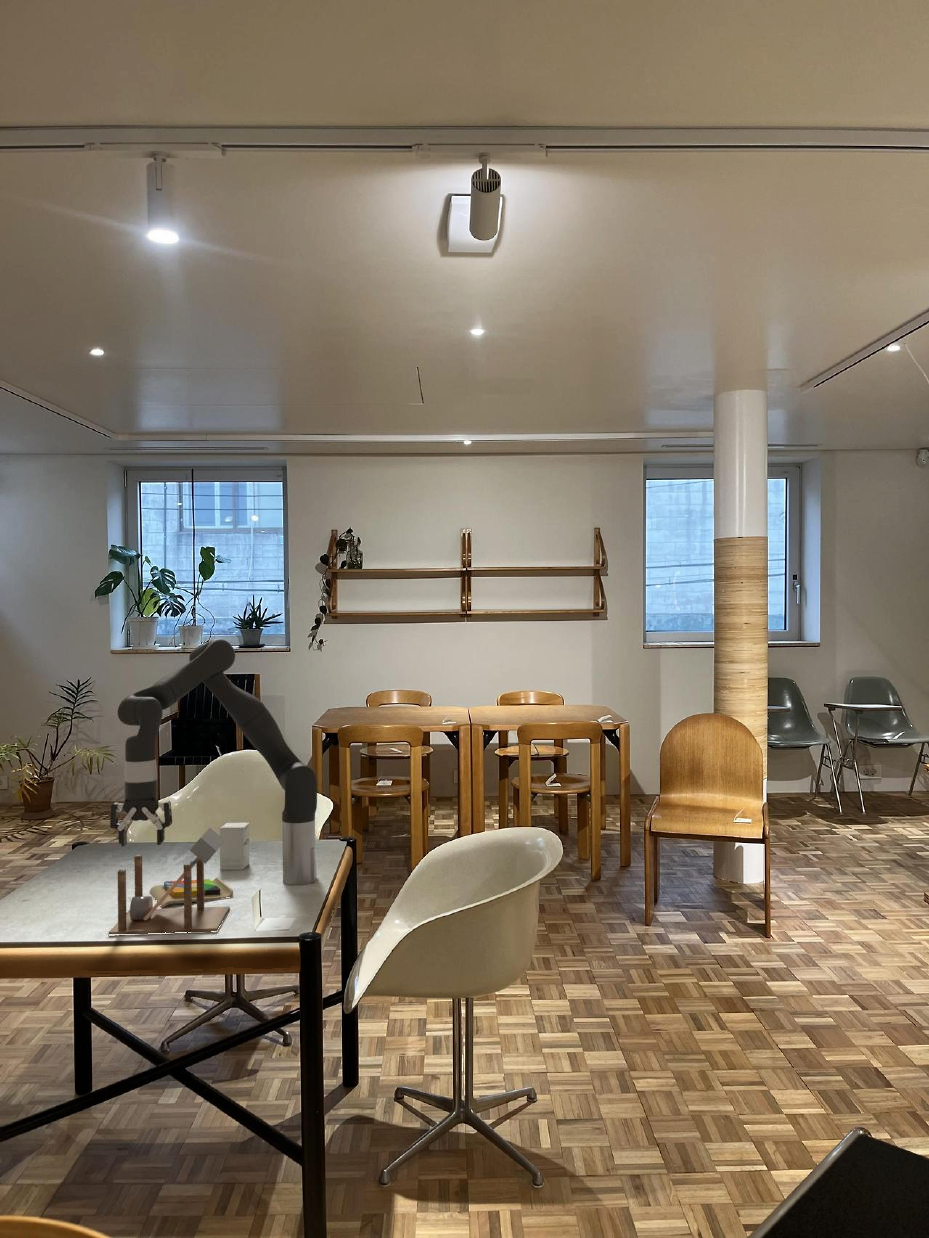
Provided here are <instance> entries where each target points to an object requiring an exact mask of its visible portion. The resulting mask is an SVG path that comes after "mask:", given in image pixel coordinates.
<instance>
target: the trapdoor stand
mask: <svg viewBox="0 0 929 1238" xmlns="http://www.w3.org/2000/svg"><path fill="white" fill-rule="evenodd" d="M133 857H134V860H133V861H134V897H141V896H144V895H143V894H144V893H143V891H144V889H143V854H135V856H133ZM195 865H196V866H195V867H196V880H197V902H196V907H193V902H192V880H193V879H192V877H193V876H192V869H191V863H190V862H187V863H186V862H185V863H184V864H183V872H184V878H183V881H184V903H183V907H177V908H176V907H175V908H174V907H173V908H157V909H156V910H155V911H154V912H153V913H152V916H151V919H150V920H146V921H145V920H139V921H132V920H131V918H130V909H129V910H128V911H127V869H119V870H117V922H116V924H115V925H113V927H112V928H111V929H110V930H109V931H108V935H109V934H148V933H165V932H166V933H175V932H187V933H188V932H211V931H217V930H218V928H219V926H220V925H221V924H223V923H222V921H223V920H224V921H225V919H226V918H225V916H226V915H228V914H229V913H228V912H230V911H231V907H230V906H229V905H227V906H206V907H205V901H204V879H205V866H204V865H205V863H204V862H203V861H202V860H199V861H198V862H197V863H196V864H195ZM229 910H230V911H229ZM227 913H228V914H227ZM226 917H227V916H226ZM224 918H225V919H224ZM224 921H223V922H224ZM221 926H222V925H221ZM221 926H220V927H221ZM219 929H220V928H219ZM218 931H219V930H218Z"/></svg>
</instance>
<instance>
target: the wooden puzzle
mask: <svg viewBox="0 0 929 1238" xmlns="http://www.w3.org/2000/svg"><path fill="white" fill-rule="evenodd" d="M175 882H176V880H168V881H167V880H166V881H164V882H163V884H162V885H161V884H159V885H158V884H157V885H154V886H153V887H151V888H150V890H149V895H150V894H151V895H152V896H153V897H154V898H155V899H154V898H153V897H152V896H151V895H150V896H151V897H152V898H153V899H154V901H155V900H157V902H158V901H159V900H160V899H161V898H162V896H163V895H164V894H165V893H166V892H167V891H168V890H169V888H170V887H171V886H172V885H173V884H174V883H175ZM233 896H234V890H233V889H232V888H231V887H230V886H229V885H228V884H226V883H225V882H224V881H222V880H221V879H220V878H219V877H215V878H214V879H213V880H211V878H204V902H209V901H208V900H213V901H218V900H217V899H220V900H222V899H221V898H226V897H231V898H232V897H233ZM226 899H227V898H226ZM157 902H156V903H157ZM192 903H197V879H192ZM171 904H173V905H174V904H184V880H181V881H180V883H179V884H178V885H177V886H176V887H175V888H174V889H173V891H172V892H171V893H170V894H169V895H168V896H167V897H166V898H165V900H164V901H163V902H162V903H161V904H160V905H161V906H162V907H165V908H166V907H168V905H171ZM160 905H159V906H160ZM161 906H160V907H161ZM162 907H161V908H162Z"/></svg>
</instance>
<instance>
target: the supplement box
mask: <svg viewBox="0 0 929 1238" xmlns="http://www.w3.org/2000/svg"><path fill="white" fill-rule="evenodd" d="M219 836H220V837H222V838H223V839H224V840H225V841H224V842H223V844H222V845H221V846H220V847H219V870H225V871H226V870H231V871H232V870H241V871H242V870H243V871H244V869H245V868H246V867H247V866H248V865H249V864H250V822H226V823H225V824H223V825H222V826H221V827H220V828H219Z"/></svg>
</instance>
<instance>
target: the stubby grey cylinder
mask: <svg viewBox="0 0 929 1238" xmlns="http://www.w3.org/2000/svg"><path fill="white" fill-rule="evenodd" d="M153 901H154V899H153V897H152V896H151V895H147V896H144V895H143V896H141V897H135V896H133V897H132V898H131V900H130V903H129V904H130V906H129V910H130V918H131V920H132V921H139V920H144V919H143V918H144V917H145V916H146V915H147V914H148V913H149V911H150V910H151V909H152V908H153V907H154V902H153ZM151 916H152V914H151ZM151 916H150V917H149V918H148V919H147V920H150V919H151Z"/></svg>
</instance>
